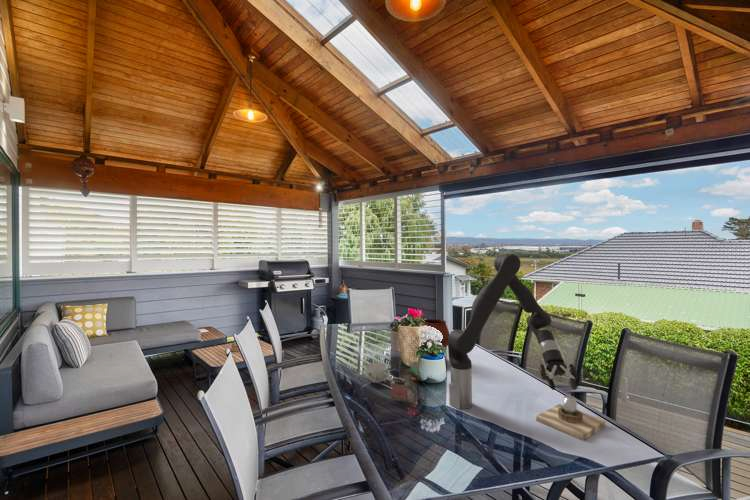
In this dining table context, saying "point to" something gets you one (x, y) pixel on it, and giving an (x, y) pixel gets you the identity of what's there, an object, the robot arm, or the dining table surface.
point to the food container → (415, 371)
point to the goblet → (439, 328)
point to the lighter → (399, 389)
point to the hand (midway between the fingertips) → (564, 389)
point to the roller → (570, 405)
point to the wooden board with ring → (571, 422)
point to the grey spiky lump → (376, 372)
